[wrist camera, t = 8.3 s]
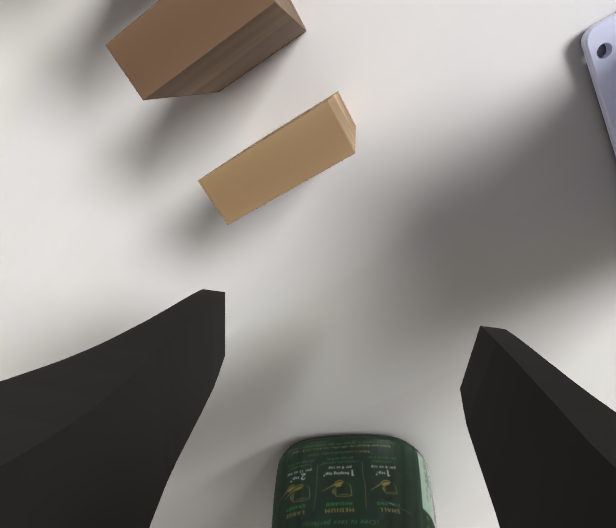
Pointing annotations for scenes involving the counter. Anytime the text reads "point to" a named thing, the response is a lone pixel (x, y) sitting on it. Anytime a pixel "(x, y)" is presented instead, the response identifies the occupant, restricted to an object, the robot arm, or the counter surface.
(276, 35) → the tile
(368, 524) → the coffee jar
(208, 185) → the tile
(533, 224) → the counter surface
